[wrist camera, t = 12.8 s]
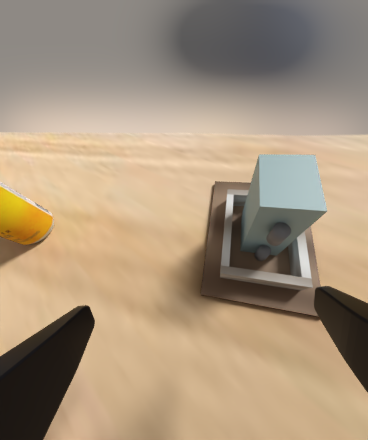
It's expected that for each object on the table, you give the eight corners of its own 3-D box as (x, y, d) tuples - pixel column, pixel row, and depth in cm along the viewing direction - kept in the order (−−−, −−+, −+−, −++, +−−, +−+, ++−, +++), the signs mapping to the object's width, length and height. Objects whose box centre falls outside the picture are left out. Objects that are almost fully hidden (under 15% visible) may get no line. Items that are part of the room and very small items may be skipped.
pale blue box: (277, 266, 19) (330, 228, 10) (239, 260, 20) (260, 221, 11) (274, 217, 22) (315, 155, 13) (241, 214, 23) (259, 154, 14)
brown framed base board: (322, 317, 17) (342, 318, 14) (201, 294, 19) (198, 292, 17) (302, 187, 24) (313, 171, 21) (215, 184, 26) (215, 169, 24)
